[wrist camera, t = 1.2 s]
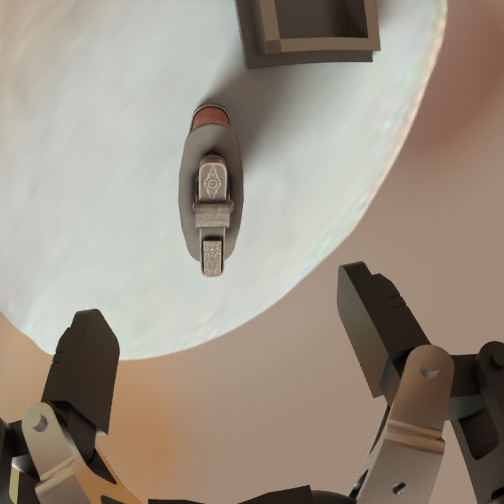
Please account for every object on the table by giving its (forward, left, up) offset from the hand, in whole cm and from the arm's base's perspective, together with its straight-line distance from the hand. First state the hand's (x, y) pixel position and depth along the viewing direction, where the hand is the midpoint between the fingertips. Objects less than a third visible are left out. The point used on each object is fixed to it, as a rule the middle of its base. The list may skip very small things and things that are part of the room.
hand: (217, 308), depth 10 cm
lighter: (0, 0, -15) cm, 15 cm away
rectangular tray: (-13, +8, -15) cm, 21 cm away
